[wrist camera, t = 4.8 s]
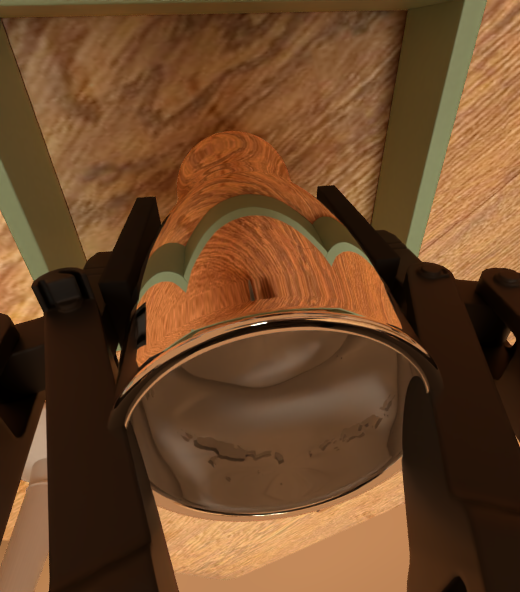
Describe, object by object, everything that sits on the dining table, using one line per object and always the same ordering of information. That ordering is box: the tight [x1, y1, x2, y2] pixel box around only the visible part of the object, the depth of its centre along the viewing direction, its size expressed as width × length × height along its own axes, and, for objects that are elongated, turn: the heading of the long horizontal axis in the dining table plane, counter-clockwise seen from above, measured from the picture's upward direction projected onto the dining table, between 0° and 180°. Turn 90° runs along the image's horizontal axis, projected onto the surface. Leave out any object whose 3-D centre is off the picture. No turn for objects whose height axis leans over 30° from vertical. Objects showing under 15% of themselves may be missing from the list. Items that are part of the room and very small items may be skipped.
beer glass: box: [106, 131, 445, 522], centre depth 13 cm, size 7×7×15 cm
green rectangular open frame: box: [0, 0, 487, 351], centre depth 20 cm, size 18×22×5 cm
